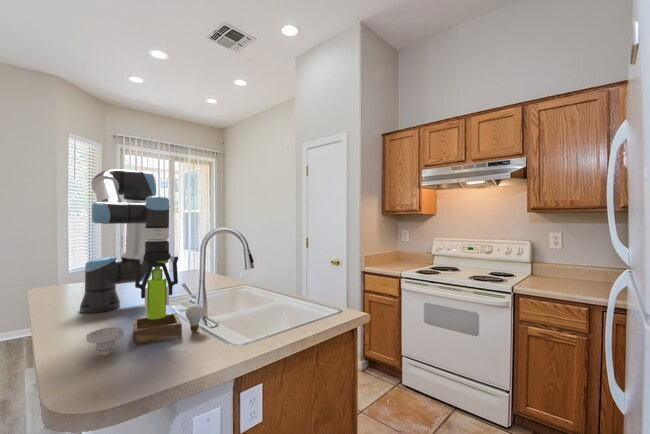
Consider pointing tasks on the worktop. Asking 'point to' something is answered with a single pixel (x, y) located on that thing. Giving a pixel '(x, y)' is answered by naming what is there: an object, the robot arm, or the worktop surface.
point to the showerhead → (105, 338)
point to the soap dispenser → (157, 294)
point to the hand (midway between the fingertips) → (156, 305)
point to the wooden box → (156, 329)
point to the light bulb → (194, 316)
